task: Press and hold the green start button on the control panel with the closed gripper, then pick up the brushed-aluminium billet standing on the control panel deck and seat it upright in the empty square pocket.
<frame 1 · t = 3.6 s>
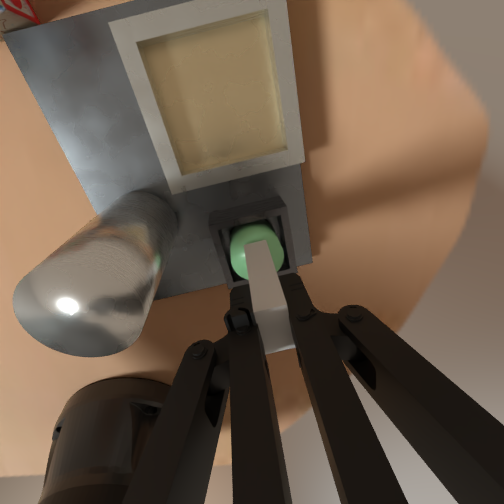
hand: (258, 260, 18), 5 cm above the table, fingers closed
start button: (255, 248, 19), point 3 cm above the table, slide at -0.9 cm, touching gripper
billet: (143, 224, 20), point 1 cm above the table, touching control panel
control panel: (194, 172, 20), on the table
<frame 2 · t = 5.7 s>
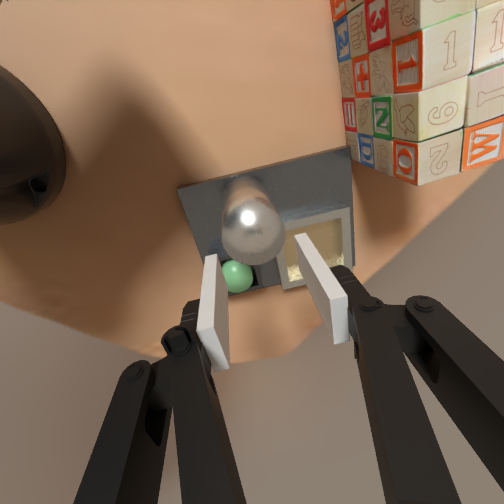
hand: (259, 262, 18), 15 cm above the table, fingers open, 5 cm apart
start button: (236, 272, 32), point 3 cm above the table, slide at -0.9 cm
billet: (245, 199, 30), point 1 cm above the table, touching control panel
stack of blocks: (365, 33, 25), on the table
control panel: (273, 228, 33), on the table
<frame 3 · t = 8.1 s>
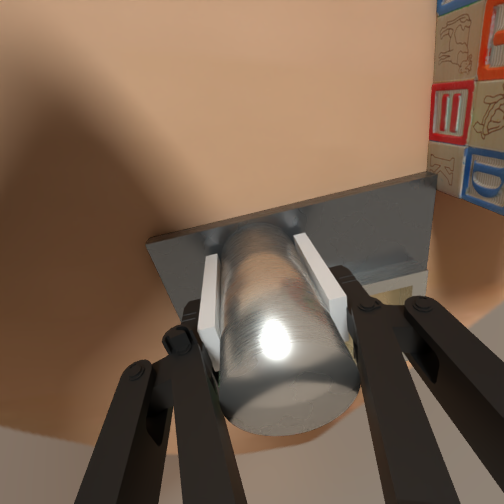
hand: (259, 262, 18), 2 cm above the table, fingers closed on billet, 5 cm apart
billet: (258, 257, 18), point 1 cm above the table, touching gripper, control panel
control panel: (300, 293, 21), on the table
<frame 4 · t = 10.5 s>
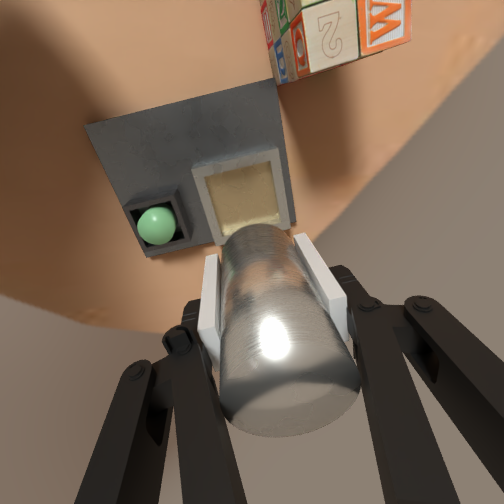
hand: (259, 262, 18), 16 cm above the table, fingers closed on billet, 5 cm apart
start button: (158, 223, 29), point 3 cm above the table, slide at -0.9 cm
billet: (258, 257, 18), point 15 cm above the table, touching gripper
control panel: (202, 177, 30), on the table
when the fingers open (3 cm above the table, at t = 12.9 s): billet drops 1 cm, resting on control panel.
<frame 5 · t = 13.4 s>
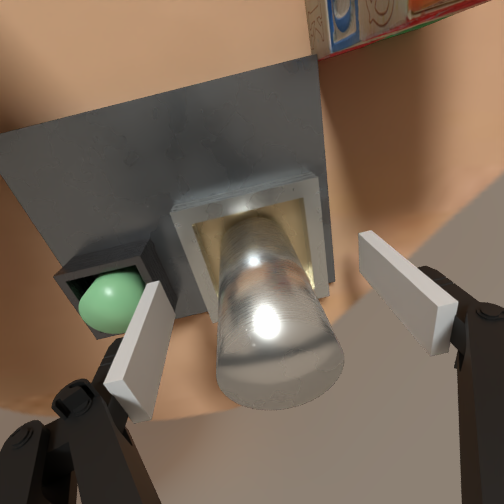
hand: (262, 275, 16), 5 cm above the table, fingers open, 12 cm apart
start button: (119, 296, 18), point 3 cm above the table, slide at -0.9 cm
billet: (255, 250, 19), point 1 cm above the table, touching control panel
control panel: (191, 218, 19), on the table
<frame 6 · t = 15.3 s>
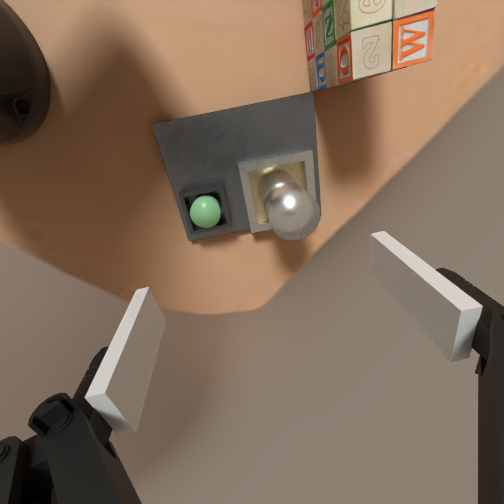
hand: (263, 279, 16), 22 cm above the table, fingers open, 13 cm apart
start button: (206, 210, 34), point 3 cm above the table, slide at -0.9 cm
billet: (277, 191, 35), point 1 cm above the table, touching control panel
control panel: (244, 172, 35), on the table
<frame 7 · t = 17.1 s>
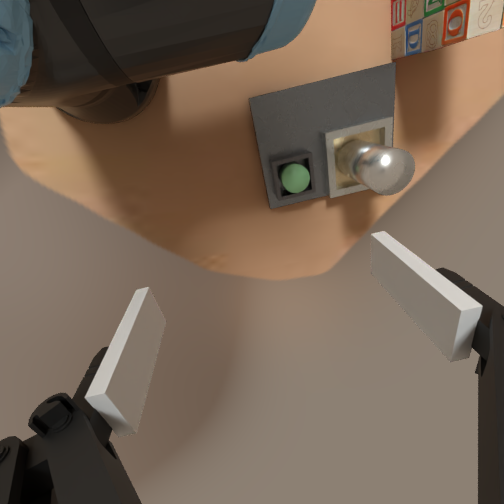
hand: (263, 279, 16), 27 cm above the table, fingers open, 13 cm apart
start button: (293, 177, 37), point 3 cm above the table, slide at -0.9 cm
billet: (354, 158, 38), point 1 cm above the table, touching control panel
control panel: (324, 142, 38), on the table
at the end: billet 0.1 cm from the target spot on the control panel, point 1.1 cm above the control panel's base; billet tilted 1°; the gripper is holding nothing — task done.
